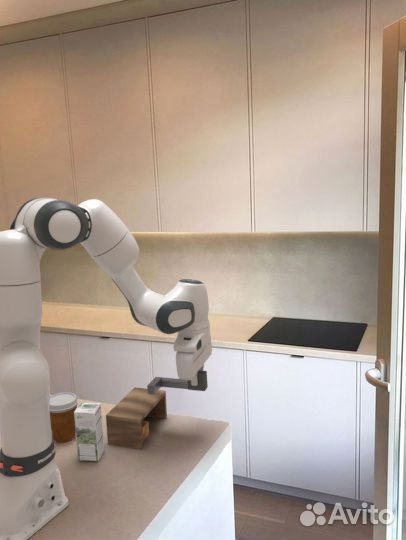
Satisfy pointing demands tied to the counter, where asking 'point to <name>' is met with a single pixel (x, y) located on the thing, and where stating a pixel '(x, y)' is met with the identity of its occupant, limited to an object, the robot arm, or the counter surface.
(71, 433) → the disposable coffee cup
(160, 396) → the walnut cubby
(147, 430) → the orange block
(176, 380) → the metal crook
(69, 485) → the counter surface
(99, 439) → the syrup box
